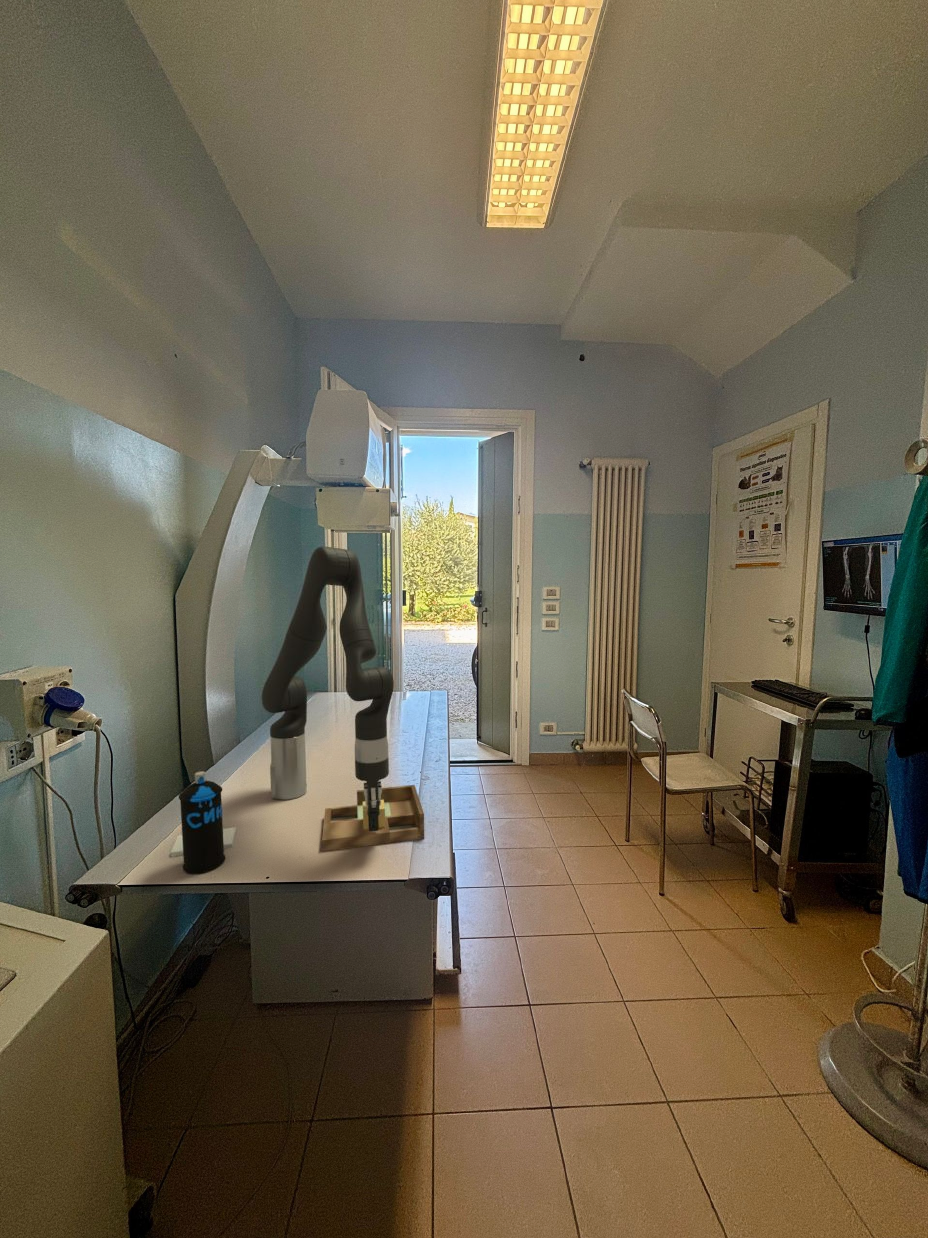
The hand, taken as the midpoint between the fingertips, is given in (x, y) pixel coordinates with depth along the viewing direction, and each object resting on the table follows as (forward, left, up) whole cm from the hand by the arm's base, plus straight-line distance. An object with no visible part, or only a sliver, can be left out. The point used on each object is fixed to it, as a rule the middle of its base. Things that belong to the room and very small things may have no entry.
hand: (373, 829), depth 115 cm
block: (0, +5, -1) cm, 5 cm away
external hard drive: (-38, +10, -4) cm, 40 cm away
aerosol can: (-36, +1, -4) cm, 36 cm away
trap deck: (0, +8, -4) cm, 9 cm away
